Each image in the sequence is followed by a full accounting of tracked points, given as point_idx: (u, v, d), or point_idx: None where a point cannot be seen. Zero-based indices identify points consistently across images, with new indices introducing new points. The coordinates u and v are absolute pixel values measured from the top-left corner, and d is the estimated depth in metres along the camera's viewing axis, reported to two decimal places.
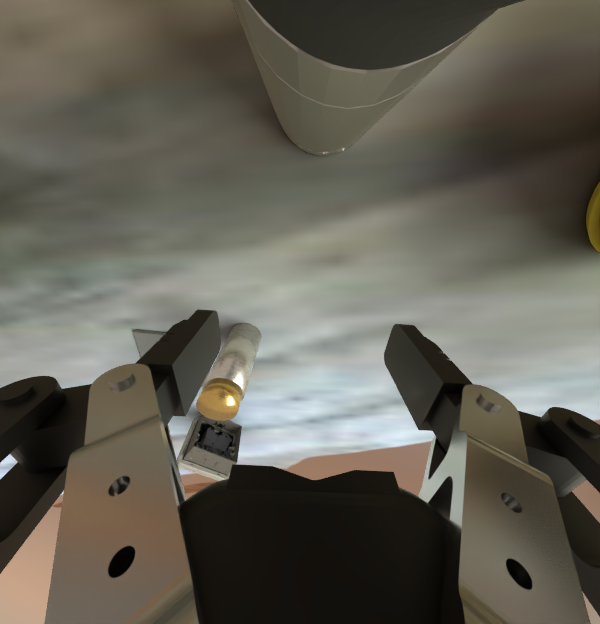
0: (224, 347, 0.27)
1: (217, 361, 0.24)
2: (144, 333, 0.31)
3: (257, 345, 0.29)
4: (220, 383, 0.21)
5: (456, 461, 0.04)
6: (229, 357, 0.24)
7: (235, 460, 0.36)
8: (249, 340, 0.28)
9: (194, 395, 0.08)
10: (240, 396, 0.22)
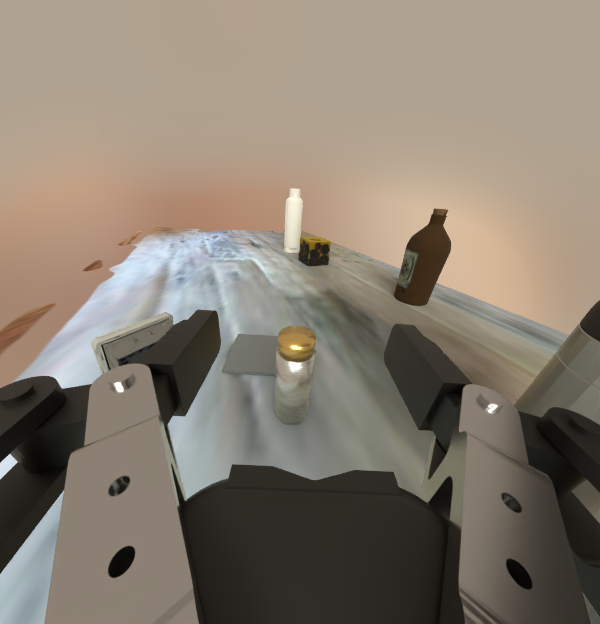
0: None
1: None
2: None
3: (295, 411, 0.26)
4: None
5: (456, 461, 0.04)
6: None
7: (115, 361, 0.25)
8: (306, 401, 0.26)
9: (194, 395, 0.08)
10: (299, 357, 0.22)
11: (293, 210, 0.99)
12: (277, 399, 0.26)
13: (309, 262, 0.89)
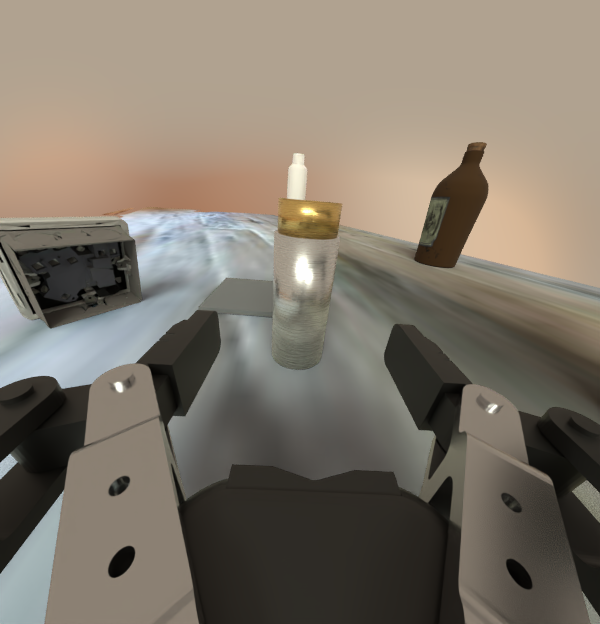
0: None
1: None
2: None
3: (304, 344, 0.16)
4: None
5: (456, 461, 0.04)
6: None
7: (15, 257, 0.16)
8: (322, 330, 0.17)
9: (194, 395, 0.08)
10: (315, 227, 0.13)
11: (296, 178, 0.90)
12: (275, 325, 0.16)
13: None
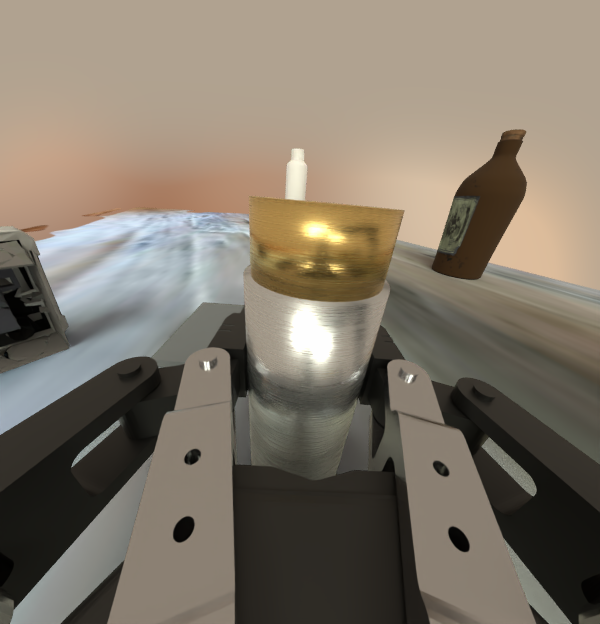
0: None
1: None
2: None
3: None
4: None
5: (393, 441, 0.04)
6: None
7: None
8: (342, 447, 0.09)
9: None
10: (341, 273, 0.05)
11: (295, 176, 0.82)
12: (254, 440, 0.09)
13: None
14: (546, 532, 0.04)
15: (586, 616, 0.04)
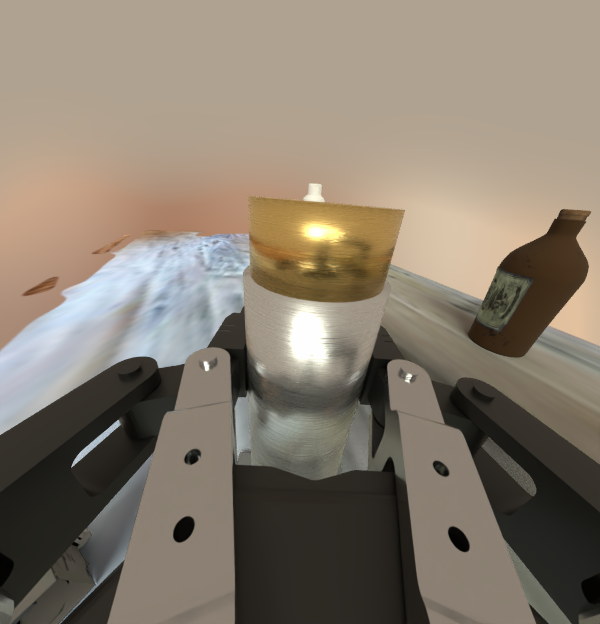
0: None
1: None
2: None
3: None
4: None
5: (393, 441, 0.04)
6: None
7: None
8: (343, 448, 0.09)
9: None
10: (341, 273, 0.05)
11: None
12: (254, 441, 0.09)
13: None
14: (546, 532, 0.04)
15: (586, 616, 0.04)
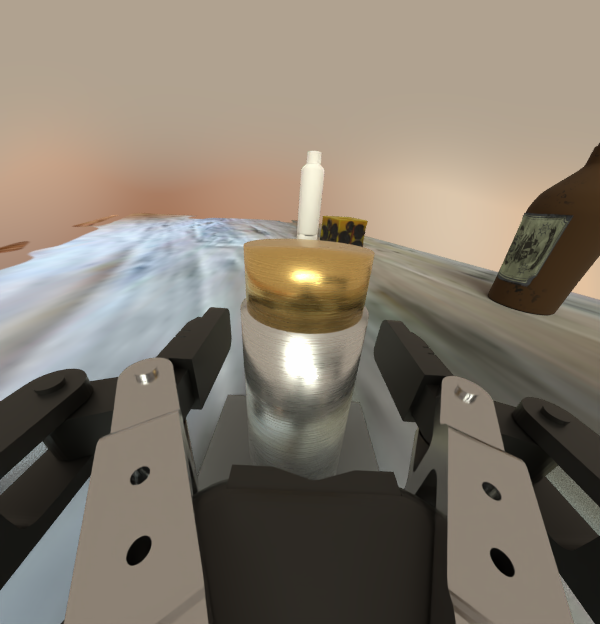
0: None
1: None
2: None
3: None
4: None
5: (439, 454, 0.04)
6: None
7: None
8: (336, 461, 0.09)
9: (209, 390, 0.08)
10: (321, 310, 0.06)
11: (311, 182, 0.73)
12: (253, 456, 0.09)
13: None
14: None
15: None
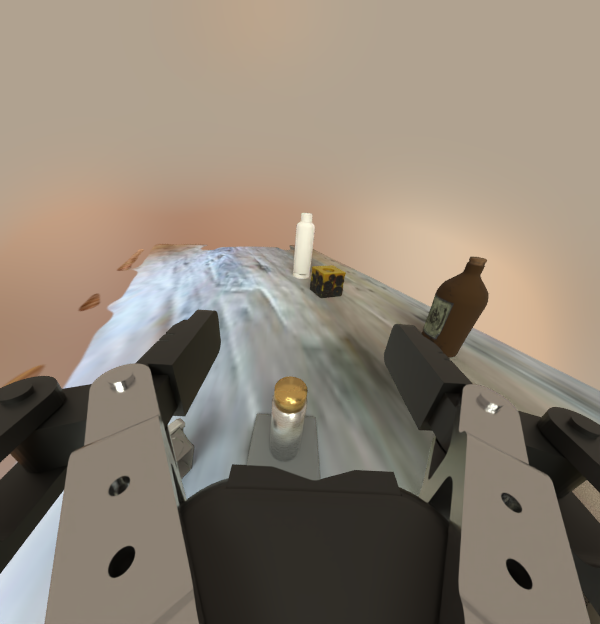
0: None
1: None
2: None
3: (288, 451, 0.29)
4: None
5: (456, 461, 0.04)
6: None
7: None
8: (298, 442, 0.30)
9: (194, 395, 0.08)
10: (292, 410, 0.25)
11: (304, 236, 0.94)
12: (272, 439, 0.29)
13: (322, 294, 0.84)
14: None
15: None
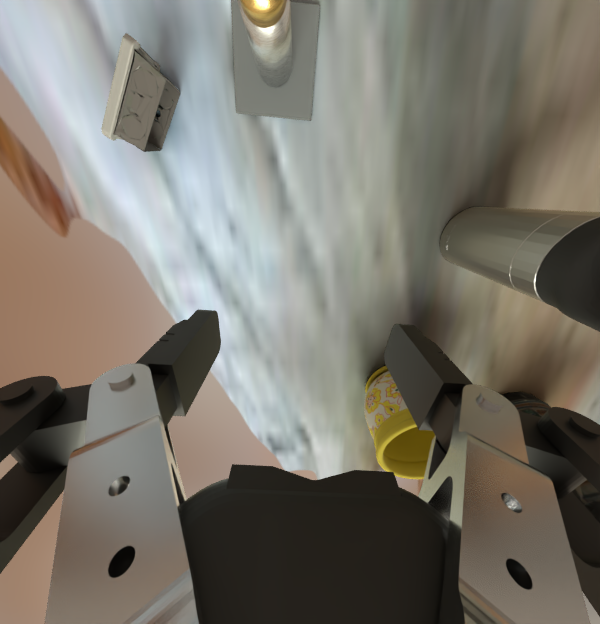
0: None
1: None
2: None
3: (275, 77, 0.25)
4: None
5: (456, 461, 0.04)
6: (290, 20, 0.20)
7: None
8: (287, 65, 0.24)
9: (194, 395, 0.08)
10: (264, 21, 0.18)
11: None
12: None
13: None
14: None
15: None
